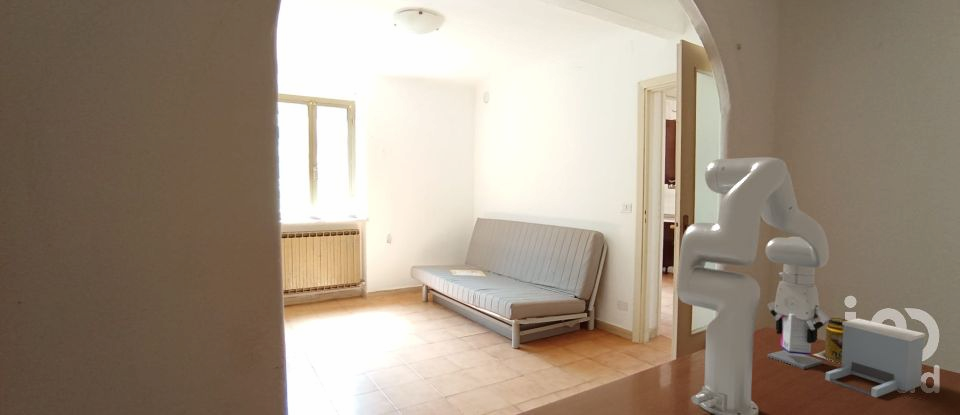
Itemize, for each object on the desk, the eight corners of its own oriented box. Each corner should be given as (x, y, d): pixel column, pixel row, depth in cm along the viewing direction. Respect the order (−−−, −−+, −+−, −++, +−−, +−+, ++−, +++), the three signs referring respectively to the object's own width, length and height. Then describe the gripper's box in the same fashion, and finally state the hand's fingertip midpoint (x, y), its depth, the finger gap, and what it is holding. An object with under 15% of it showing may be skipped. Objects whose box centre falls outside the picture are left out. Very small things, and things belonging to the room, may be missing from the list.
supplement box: (811, 355, 129) (813, 316, 128) (788, 353, 130) (790, 314, 129) (801, 347, 134) (803, 310, 134) (779, 346, 135) (781, 309, 135)
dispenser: (884, 400, 107) (888, 344, 107) (818, 377, 120) (820, 327, 120) (922, 385, 116) (925, 333, 115) (855, 365, 129) (858, 318, 128)
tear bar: (870, 395, 110) (870, 393, 110) (830, 381, 118) (830, 379, 118) (871, 395, 110) (872, 392, 110) (831, 380, 118) (831, 378, 118)
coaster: (803, 369, 126) (803, 366, 125) (767, 356, 134) (767, 354, 134) (823, 363, 130) (823, 360, 130) (786, 351, 139) (787, 349, 139)
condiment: (845, 365, 129) (847, 324, 128) (812, 355, 136) (813, 316, 136) (857, 360, 132) (859, 321, 132) (824, 351, 140) (826, 313, 139)
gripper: (760, 274, 137) (758, 330, 138) (824, 286, 121) (821, 349, 122) (775, 272, 140) (773, 327, 141) (839, 283, 125) (836, 345, 126)
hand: (795, 337), depth 132 cm, fingers closed on supplement box, 7 cm apart
